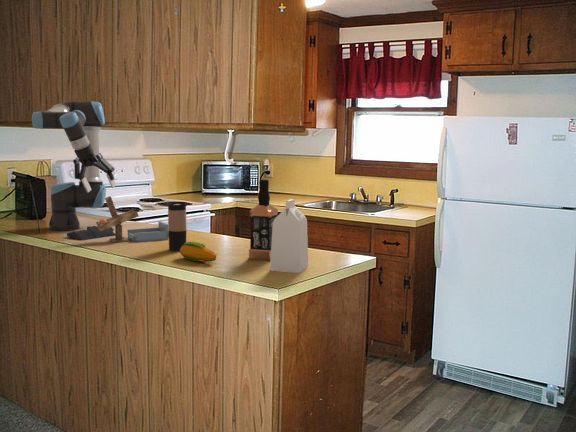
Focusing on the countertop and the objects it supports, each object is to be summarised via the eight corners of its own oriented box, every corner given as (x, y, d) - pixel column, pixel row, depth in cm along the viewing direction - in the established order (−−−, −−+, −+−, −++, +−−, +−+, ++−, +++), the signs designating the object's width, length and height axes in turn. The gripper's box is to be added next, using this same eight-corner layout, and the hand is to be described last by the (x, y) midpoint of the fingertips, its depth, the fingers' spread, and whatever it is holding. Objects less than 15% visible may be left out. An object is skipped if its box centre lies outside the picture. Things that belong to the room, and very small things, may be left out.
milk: (279, 263, 241) (280, 197, 237) (308, 266, 237) (309, 199, 234) (269, 270, 229) (270, 201, 225) (299, 273, 226) (300, 202, 222)
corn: (188, 237, 252) (223, 243, 240) (190, 255, 254) (224, 262, 241) (174, 241, 247) (209, 248, 234) (176, 259, 248) (210, 267, 235)
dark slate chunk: (61, 238, 292) (61, 228, 292) (101, 232, 310) (101, 222, 309) (80, 242, 283) (80, 231, 282) (120, 235, 300) (120, 226, 299)
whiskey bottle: (271, 261, 245) (272, 180, 240) (248, 259, 248) (248, 180, 243) (278, 255, 255) (279, 178, 250) (256, 254, 258) (256, 178, 253)
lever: (101, 231, 276) (92, 206, 273) (97, 228, 284) (88, 204, 280) (139, 216, 283) (130, 192, 280) (134, 214, 291) (125, 190, 288)
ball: (101, 225, 282) (99, 218, 281) (109, 224, 282) (106, 216, 281) (99, 227, 278) (97, 220, 278) (106, 226, 278) (104, 218, 277)
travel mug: (166, 248, 267) (166, 203, 264) (184, 247, 270) (183, 202, 267) (170, 252, 260) (170, 205, 257) (188, 250, 263) (188, 204, 260)
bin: (134, 242, 281) (133, 227, 280) (127, 237, 292) (127, 223, 291) (168, 239, 289) (168, 224, 288) (160, 235, 299) (160, 221, 298)
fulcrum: (113, 242, 279) (112, 226, 278) (109, 240, 285) (109, 224, 284) (128, 241, 283) (128, 225, 282) (124, 239, 289) (124, 223, 288)
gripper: (54, 155, 274) (75, 196, 283) (101, 145, 265) (120, 188, 274) (63, 148, 280) (83, 189, 289) (109, 138, 271) (128, 180, 281)
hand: (101, 188), depth 282 cm, fingers open, 13 cm apart
